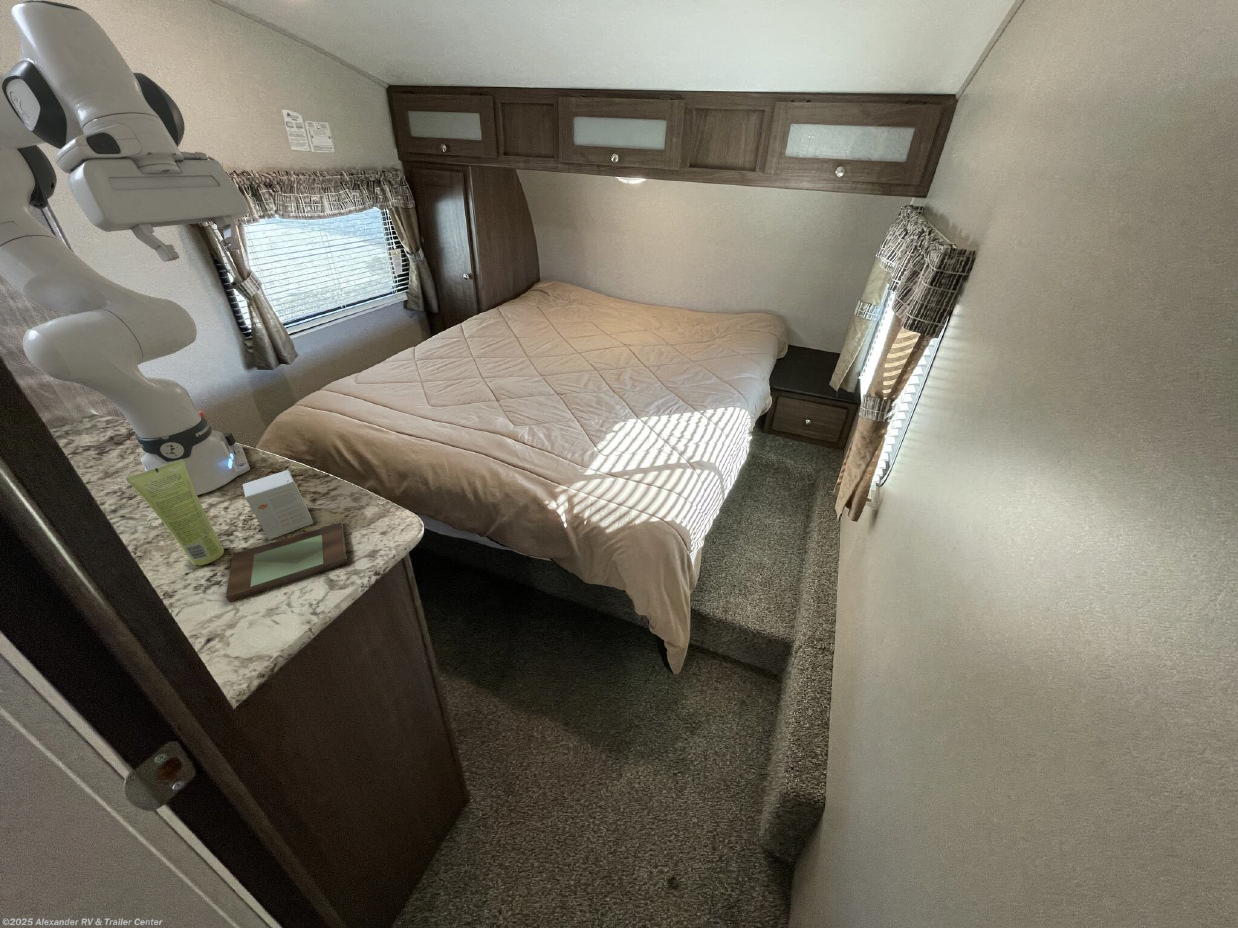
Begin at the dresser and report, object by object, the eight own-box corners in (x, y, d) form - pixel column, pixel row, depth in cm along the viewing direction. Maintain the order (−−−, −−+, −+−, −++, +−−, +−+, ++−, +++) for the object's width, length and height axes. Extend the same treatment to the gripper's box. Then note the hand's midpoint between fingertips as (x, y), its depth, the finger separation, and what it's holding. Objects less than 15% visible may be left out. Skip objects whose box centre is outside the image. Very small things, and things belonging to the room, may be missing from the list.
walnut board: (235, 558, 90) (232, 553, 89) (343, 526, 97) (341, 521, 96) (228, 602, 81) (225, 596, 80) (347, 563, 88) (345, 558, 87)
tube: (206, 546, 93) (152, 459, 82) (233, 545, 93) (182, 458, 83) (185, 567, 88) (124, 477, 78) (213, 566, 88) (156, 476, 78)
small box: (308, 510, 102) (289, 468, 96) (314, 524, 98) (294, 480, 92) (264, 526, 98) (241, 483, 92) (268, 541, 94) (244, 497, 88)
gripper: (201, 160, 77) (255, 251, 83) (36, 159, 60) (118, 273, 66) (224, 144, 74) (278, 239, 80) (59, 139, 58) (141, 259, 63)
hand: (205, 255), depth 73 cm, fingers open, 8 cm apart
